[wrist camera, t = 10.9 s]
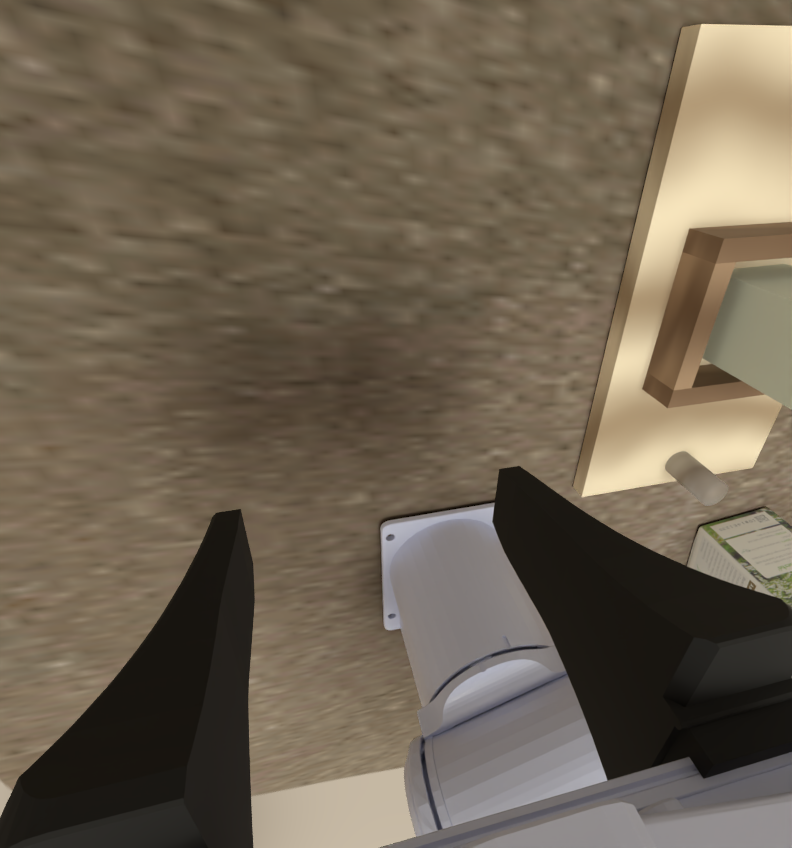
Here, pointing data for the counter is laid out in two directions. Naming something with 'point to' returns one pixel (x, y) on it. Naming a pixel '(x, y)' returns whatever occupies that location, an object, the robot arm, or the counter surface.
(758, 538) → the syrup box
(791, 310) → the sage peg
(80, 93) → the counter surface
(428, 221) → the counter surface
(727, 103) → the socket plate
